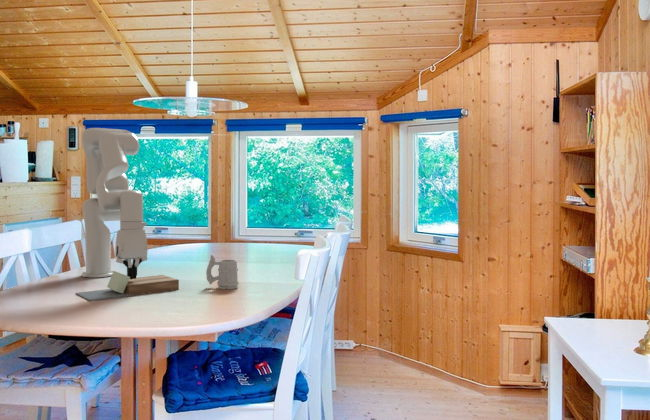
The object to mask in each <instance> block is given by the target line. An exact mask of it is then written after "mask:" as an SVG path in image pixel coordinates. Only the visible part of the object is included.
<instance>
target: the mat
mask: <svg viewBox="0 0 650 420" xmlns="http://www.w3.org/2000/svg"><path fill="white" fill-rule="evenodd" d="M75 295H77V296H79V297H81V298H83V299H85V300H86V301H89V302H95V301H104V300H111V299H119V298H126V297H127V298H128V297H134V295H133V294H130V295H129V294H127V293H124V292H123V294H122V293H119V292H116V291H114V290H112V289H110V288H104V289H97V290H89V291H83V292H82V291H81V292H75Z"/></svg>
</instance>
